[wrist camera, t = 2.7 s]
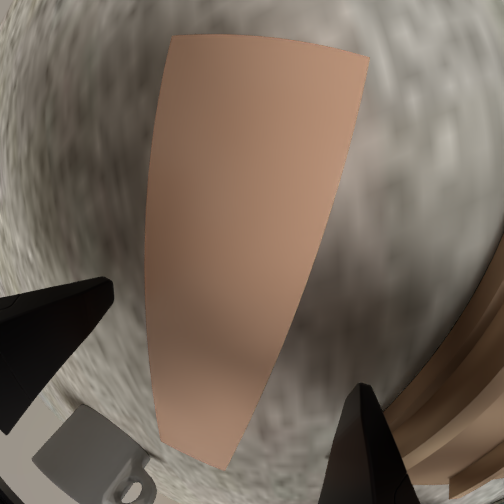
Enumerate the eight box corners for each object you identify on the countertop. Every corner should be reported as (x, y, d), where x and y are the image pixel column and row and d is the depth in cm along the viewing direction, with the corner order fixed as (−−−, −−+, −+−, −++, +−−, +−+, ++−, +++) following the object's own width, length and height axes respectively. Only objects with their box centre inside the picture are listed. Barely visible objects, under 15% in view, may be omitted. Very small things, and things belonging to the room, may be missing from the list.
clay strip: (245, 428, 13) (224, 471, 11) (186, 403, 14) (160, 441, 11) (361, 88, 6) (369, 57, 3) (232, 63, 7) (172, 35, 4)
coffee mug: (95, 431, 27) (56, 477, 18) (69, 390, 22) (16, 444, 14) (181, 481, 23) (145, 539, 15) (171, 455, 19) (119, 533, 10)
